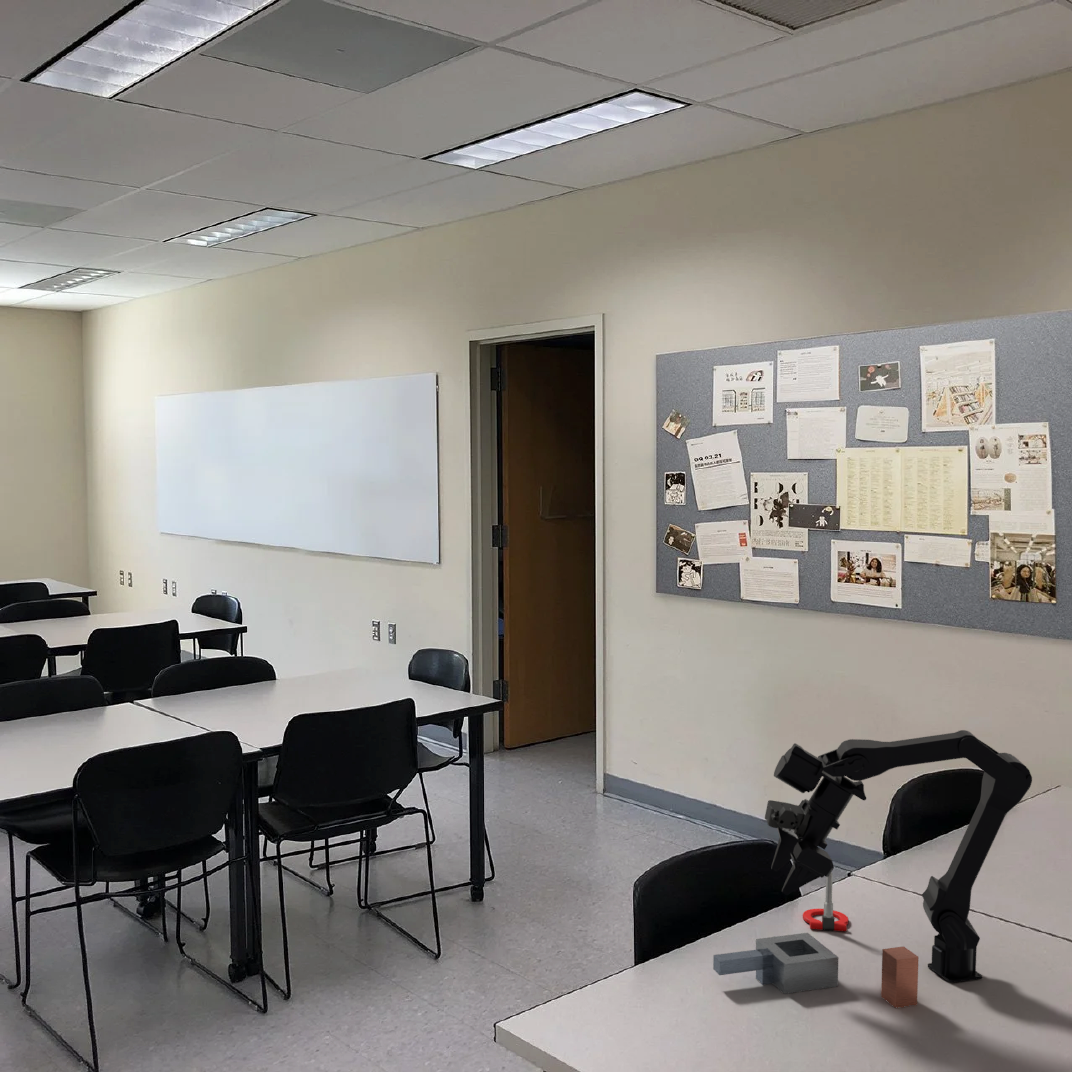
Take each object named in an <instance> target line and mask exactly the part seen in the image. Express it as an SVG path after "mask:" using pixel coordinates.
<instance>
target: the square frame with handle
mask: <svg viewBox="0 0 1072 1072" xmlns="http://www.w3.org/2000/svg"><path fill="white" fill-rule="evenodd" d="M712 960H713V961H712V962H713V965H712V966H713V967H712V969H713V970H714V971H715V973H716V974H718V975H719V976H725V975H733V974H740V973H746V972H755V979H756V980H757V981H758V980H759V981H760V982H759V981H758V982H759V983H760V984H761V985H763V986H764V984H765V985H770V983H771V984H773V986H775V987H776V988H777V989H778V990H779V991H780V990H781V991H782V992H781V991H780V992H781V993H782V994H791V993H793V992H794V993H799V991H801V992H806V991H805V990H808V991H814V990H822V989H829V988H835V987H836V988H837V987H838V985H839V983H838V982H839V956H838V955H837V954H835V953H834V952H833V951H832V950H830V949H829V948H828V947H826V946H825V945H824V944H822V943H821V942H820V941H819V940H818V939H816V938H815V937H814V936H812V935H811V934H810V933H809V932H804V933H803V932H802V933H794V934H787V935H777V936H770V937H762V938H761V937H759V938H755V949H751V950H742V951H736V952H735V951H733V952H727V953H720V954H719V953H718V954H713V959H712Z"/></svg>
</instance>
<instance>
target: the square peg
mask: <svg viewBox="0 0 1072 1072" xmlns="http://www.w3.org/2000/svg"><path fill="white" fill-rule="evenodd" d="M881 954H882V955H881V956H882V957H881V958H882V959H881V988H880V989H881V991H880V992H881V993H880V997H881V998H882V999H883V998H884V999H883V1000H885V1001H886V1000H887V1001H888V1002H889V1003H888V1002H887V1001H886V1002H887V1003H888V1004H890V1005H891V1006H892V1005H893V1006H894V1007H893V1006H892V1007H893V1008H895V1009H899V1008H898V1007H901V1008H905V1007H904V1006H908V1007H910V1006H909V1005H914V1006H917V1005H918V991H919V990H918V988H919V987H918V985H919V955H917V954H916V953H914V952H913V951H911V950H910V949H908V948H906V947H905V946H904V945H903V946H896V947H889V948H883V949H882V953H881ZM896 1007H897V1008H896Z"/></svg>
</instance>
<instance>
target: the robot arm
mask: <svg viewBox="0 0 1072 1072" xmlns="http://www.w3.org/2000/svg"><path fill="white" fill-rule="evenodd" d="M957 759H966V760H968V761H970V762H971V763H973V765H974V766H976V767H978V768H979V769H980V770H982V771H983V776H982V779H981V791H980V798H979V799H980V800H979V802H978V804H977V806H976V809H975V811H974V813H973V815H972V817H971V819H970V822H969V824H968V826H967V828H966V829H965V832H964V835H963V836H962V839H961V841H960V843H959V845H958V848H957V850H956V852H955V854H954V856H953V859H952V861H951V862H950V865H949V867H948V868H947V871H946V873H944V874H943V875H942V876H940V878H936V877H935V876H933V875H931V876H930V878H929V880H928V884H927V887H926V888H925V891H924V892H922V893H921V897H922V899H923V902H922V907H923V911H924V913H925V915H926V916H927V919H928V920H929V923H930V924H931V926H932V928H933V929H934V930H935V932H937V933H938V934H937V935H934V936H933V937H934V940H933V943H934V944H933V945H932V947H931V962H929V963H927V968H929V969H930V970H931V971H933V972H934V973H935V974H936V975H939V977H941V978H943V980H946V981H947V982H949V983H960V982H966V981H973V980H974V981H975V980H980V979H982V978H983V975H982V974H981V973H980V972H978V971H977V950H978V949H977V947H978V945H979V942H980V940H981V937H980V935H979V934H978V933H977V931H976V929H975V928H974V926H973V923H971V922H970V920H969V913H970V911H971V910H970V908H971V899H972V890H973V887H974V883H975V882H976V880H977V877H978V875H979V874H980V871H981V869H982V866H983V865H984V862H985V860H986V858H987V857H988V854H989V851H990V849H991V847H992V846H993V843H994V841H995V839H996V836H997V835H998V832H999V830H1000V828H1001V826H1002V824H1003V821H1004V819H1005V817H1006V816H1007V814H1008V813H1009V812H1010V811H1011V810H1013V809H1014V807H1016V806H1018V805H1019V803H1020V802H1022V799H1023V798H1024V796H1025V795H1026V794H1027V793H1028V791H1029V790H1030V788H1031V786H1032V783H1033V776H1032V774H1031V771H1030V769H1029V768H1028V767H1027V766H1026V765H1025V764H1024V763H1023V762H1022V761H1020V760H1019V759H1018V757H1016V756H1015V755H1014V754H1011V753H1009V752H1008V753H1007V752H999V751H997V750H995V749H994V748H993V747H991V746H989V745H988V744H987V743H985V742H983V741H982V740H980V739H979V738H978V737H976V736H975V735H974V734H973V733H972V732H971V731H969V730H965V729H962V730H958V731H955V732H950V733H942V734H936V735H930V736H929V735H927V736H920V737H916V738H915V737H914V738H908V739H901V740H893V741H881V740H874V739H860V738H859V739H858V738H855V739H854V738H852V739H851V738H849V739H847V740H844V741H842V742H841V743H840V745H839V746H838V747H837V748H836V749H833V750H830V751H828V752H825V753H822V754H820V755H818V756H816V755H814V754H812V753H811V752H809V751H808V750H805V749H804V748H803V747H802V746H801V745H799V744H797V743H793V744H792V746H791V748H789V749H788V750H787V751H786V752H785V753H784V754H782V756H781V757H780V758H779V761H778V763H777V764H776V766H775V768H774V771H773V777H774V778H776V779H777V780H779V781H781V782H783V783H784V784H786V785H788V786H790V787H791V788H793V789H795V790H796V791H798V792H800V793H801V794H805V793H811V792H813V791H814V792H813V793H812V795H811V796H810V797H809V800H808V799H807V798H805V799H802V800H801V802H800V803H799V805H797V804H794V803H789V802H784V801H779V800H778V801H777V800H767V804H766V809H765V815H764V820H766V823H767V825H768V826H769V827H771V828H774V829H776V830H777V833H778V841H777V846H776V849H775V853H774V856H773V860H772V863H771V870H772V871H774V872H778V871H779V870H781V868H783V867H784V866H785V865H786V864H787V863H789V862H790V861H792V866H791V868H790V870H789V873H788V874H787V877H786V879H785V882H784V884H783V887H782V888H781V892H782V893H783V894H784V895H786V896H788V895H789V894H791V893H793V892H794V891H796V890H798V889H800V888H802V887H804V886H805V885H807V884H808V883H811V882H812V881H814V880H816V879H818V878H826V877H828V876H829V875H830V873H831V872H832V871H833V870H834V868H835V866H834V862H833V860H832V858H831V856H830V854H829V853H828V851H826V848H827V846H828V843H827V841H826V840H827V838H828V837H829V834H830V833H831V832H832V830H833V829H835V830H838V829H839V827H840V826H841V824H840V823H839V819H840V817H841V816H842V814H843V812H844V811H845V809H846V808H847V806H848V804H849V803H850V801H851V800H852V798H853V797H854V796H855V797H857V798H858V799H861V800H862V801H866V800H867V795H866V793H865V784H864V782H863V781H865V780H868V779H871V778H874V777H877V776H880V775H882V774H884V773H886V772H887V771H890V770H893V769H896V768H901V767H907V766H913V765H915V766H916V765H921V764H922V765H923V764H929V763H930V764H931V763H936V762H943V761H950V760H957ZM832 873H833V872H832Z"/></svg>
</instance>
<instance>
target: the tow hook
mask: <svg viewBox="0 0 1072 1072" xmlns="http://www.w3.org/2000/svg"><path fill="white" fill-rule="evenodd" d="M833 876H834V875H833V872H831V873H830V875H829V876H828V877H826V876H825V898H824V899H825V901H824V902H823V908H811V909H807V910H805V911H803V913H802V919H803V921H805V923H807V924H809V929H810V930H822V931H826V932H835V931H836V932H847V928H848V927H847V926H848V924H849V918H848V916H847V915H846V914H844V913H842V912H840V911H839V910H838V911H837V910H834V903H833ZM820 915H821V920H820V919H817V918H814V917H813V916H820ZM835 918H836V919H838V920H836V921H835Z"/></svg>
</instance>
